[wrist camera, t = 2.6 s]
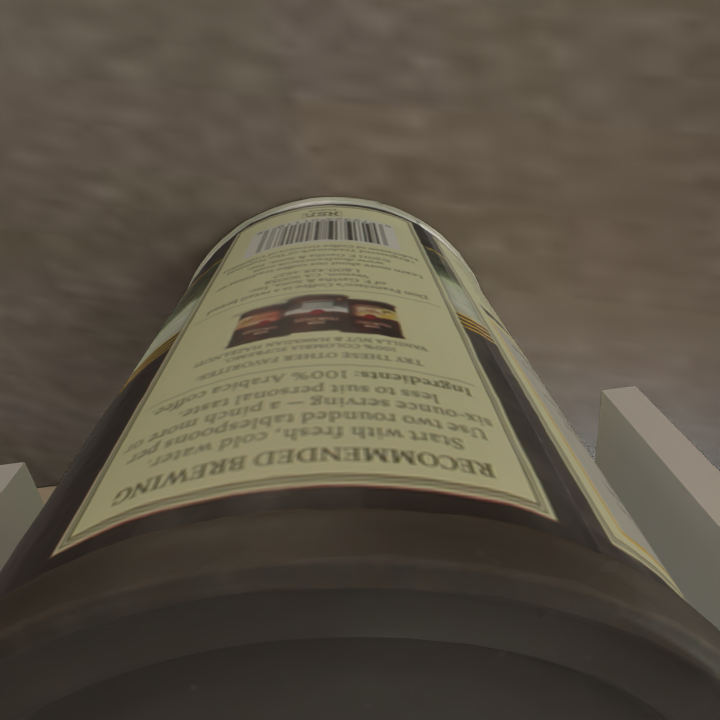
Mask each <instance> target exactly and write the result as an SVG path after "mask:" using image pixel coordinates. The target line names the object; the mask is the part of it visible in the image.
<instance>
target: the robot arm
mask: <svg viewBox="0 0 720 720" xmlns="http://www.w3.org/2000/svg"><path fill="white" fill-rule="evenodd" d="M595 463H596V465H597V466H598V468H599V469H600V471H601V472H602V474H603V475H604V477H605V478H606V480H607V481H608V483H609V484H610V486H611V487H612V489H613V490H614V492H615V493H616V495H617V496H618V498H619V499H620V501H621V502H622V504H623V505H624V507H625V508H626V510H627V511H628V513H629V514H630V516H631V517H632V519H633V521H634V522H635V524H636V525H637V527H638V528H639V530H640V531H641V533H642V534H643V536H644V537H645V539H646V540H647V542H648V543H649V545H650V546H651V548H652V549H653V551H654V552H655V554H656V555H657V557H658V558H659V560H660V561H661V563H662V564H663V566H664V567H665V569H666V570H667V572H668V574H669V575H670V577H671V578H672V580H673V581H674V583H675V584H676V586H677V587H678V589H679V590H680V592H681V593H682V595H683V596H684V598H685V600H686V601H687V603H688V604H690V605H691V606H692V607H693V608H694V609H695V610H697V611H698V612H699V613H700V614H701V615H702V616H704V617H705V618H706V619H707V620H708V621H710V622H711V623H712V624H713V625H714V626H715V627H717V629H718V630H719V631H720V472H719V471H718V470H717V469H716V468H715V467H714V466H713V465H712V464H711V463H710V462H709V460H708V459H707V458H706V457H705V456H704V455H703V454H702V453H701V452H700V451H699V450H698V449H697V448H696V447H695V446H694V445H693V444H692V443H691V442H690V441H689V440H688V439H687V438H686V437H685V436H684V435H683V434H682V433H681V432H680V431H679V430H678V429H677V428H676V427H675V426H674V425H673V424H672V423H671V422H670V421H669V420H668V419H667V418H666V417H665V416H664V415H663V414H662V413H661V411H660V410H659V409H658V408H657V407H656V406H655V405H654V404H653V403H652V402H651V401H650V400H649V399H648V398H647V397H646V396H645V395H644V394H643V393H642V392H641V391H640V390H639V389H638V388H637V387H636V386H631V387H623V388H615V389H607V390H602V392H601V403H600V414H599V425H598V436H597V448H596V459H595ZM43 507H44V503H43V500H42V498H41V496H40V494H39V492H38V490H37V488H36V485H35V483H34V481H33V479H32V477H31V475H30V473H29V470H28V468H27V466H26V464H25V462H21V463H13V464H5V465H0V571H1V570H2V568H3V567H4V565H5V564H6V562H7V561H8V559H9V558H10V556H11V555H12V553H13V551H14V550H15V548H16V546H17V545H18V543H19V542H20V540H21V539H22V537H23V536H24V535H25V533H26V532H27V530H28V529H29V527H30V526H31V525H32V523H33V522H34V520H35V519H36V517H37V516H38V514H39V513H40V511H41V510H42V508H43Z"/></svg>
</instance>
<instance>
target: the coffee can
mask: <svg viewBox="0 0 720 720" xmlns="http://www.w3.org/2000/svg"><path fill="white" fill-rule="evenodd" d="M0 720H720V631H719V630H718V629H717V627H715V626H714V625H713V624H712V623H711V622H710V621H708V620H707V619H706V618H705V617H704V616H702V615H701V614H700V613H699V612H698V611H697V610H695V609H694V608H693V607H692V606H691V605H690V604H688V603H687V601H686V600H685V598H684V596H683V595H682V593H681V592H680V590H679V589H678V587H677V586H676V584H675V583H674V581H673V580H672V578H671V577H670V575H669V574H668V572H667V570H666V569H665V567H664V566H663V564H662V563H661V561H660V560H659V558H658V557H657V555H656V554H655V552H654V551H653V549H652V548H651V546H650V545H649V543H648V542H647V540H646V539H645V537H644V536H643V534H642V533H641V531H640V530H639V528H638V527H637V525H636V524H635V522H634V521H633V519H632V517H631V516H630V514H629V513H628V511H627V510H626V508H625V507H624V505H623V504H622V502H621V501H620V499H619V498H618V496H617V495H616V493H615V492H614V490H613V489H612V487H611V486H610V484H609V483H608V481H607V480H606V478H605V477H604V475H603V474H602V472H601V471H600V469H599V468H598V466H597V465H596V463H595V462H594V460H593V459H592V457H591V456H590V454H589V453H588V451H587V450H586V448H585V447H584V445H583V444H582V442H581V440H580V439H579V437H578V436H577V434H576V433H575V431H574V430H573V428H572V427H571V425H570V424H569V422H568V421H567V419H566V418H565V416H564V415H563V413H562V412H561V410H560V409H559V407H558V406H557V404H556V403H555V401H554V399H553V398H552V396H551V395H550V393H549V392H548V390H547V389H546V387H545V386H544V384H543V383H542V381H541V380H540V378H539V377H538V375H537V374H536V372H535V371H534V369H533V368H532V366H531V364H530V363H529V361H528V360H527V358H526V357H525V355H524V354H523V352H522V351H521V350H520V348H519V347H518V346H517V344H516V343H515V341H514V340H513V338H512V337H511V335H510V334H509V332H508V331H507V329H506V328H505V326H504V325H503V323H502V322H501V320H500V319H499V317H498V316H497V314H496V313H495V311H494V310H493V308H492V307H491V305H490V304H489V302H488V301H487V299H486V298H485V296H484V295H483V293H482V292H481V289H480V286H479V284H478V281H477V279H476V277H475V275H474V273H473V272H472V270H471V269H470V268H469V266H468V265H467V264H466V262H465V261H464V260H463V258H462V257H461V255H460V253H459V252H458V251H457V250H456V249H455V248H454V247H453V246H452V245H451V244H450V243H449V242H448V241H447V240H446V239H445V238H444V237H443V236H442V235H441V234H440V233H438V232H437V231H436V230H434V229H433V228H432V227H430V226H429V225H427V224H426V223H424V222H423V221H421V220H420V219H418V218H416V217H414V216H412V215H410V214H408V213H406V212H404V211H402V210H400V209H397V208H395V207H392V206H389V205H385V204H382V203H380V202H378V201H372V200H365V199H359V198H349V197H320V198H310V199H305V200H300V201H295V202H290V203H287V204H284V205H281V206H277V207H274V208H272V209H270V210H267V211H265V212H263V213H261V214H258V215H256V216H255V217H253V218H250V219H248V220H246V221H244V222H243V223H242V224H240V225H239V226H237V227H236V228H235V229H234V230H233V231H231V232H230V233H229V234H228V235H227V236H225V237H224V238H223V239H222V240H221V241H220V242H219V243H218V244H217V245H216V246H215V247H214V248H213V249H212V250H211V251H210V253H209V254H208V255H207V256H206V258H205V259H204V260H203V262H202V263H201V265H200V266H199V267H198V269H197V271H196V272H195V274H194V276H193V278H192V280H191V282H190V284H189V286H188V289H187V290H186V292H185V293H184V295H183V296H182V298H181V299H180V301H179V302H178V304H177V306H176V307H175V309H174V310H173V312H172V313H171V315H170V316H169V318H168V319H167V321H166V322H165V324H164V325H163V327H162V329H161V330H160V332H159V333H158V335H157V336H156V338H155V339H154V341H153V342H152V344H151V345H150V347H149V348H148V350H147V351H146V353H145V355H144V356H143V358H142V359H141V361H140V362H139V364H138V365H137V367H136V368H135V370H134V371H133V373H132V374H131V376H130V377H129V379H128V381H127V382H126V384H125V385H124V387H123V388H122V390H121V391H120V393H119V394H118V396H117V397H116V399H115V400H114V401H113V403H112V404H111V406H110V407H109V408H108V410H107V411H106V413H105V414H104V415H103V417H102V419H101V420H100V422H99V423H98V424H97V426H96V427H95V429H94V430H93V432H92V433H91V435H90V436H89V437H88V438H87V440H86V442H85V444H84V445H83V447H82V449H81V451H80V452H79V454H78V455H77V457H76V458H75V460H74V461H73V463H72V464H71V466H70V467H69V469H68V470H67V472H66V473H65V475H64V476H63V478H62V479H61V481H60V482H59V484H58V485H57V487H56V488H55V490H54V491H53V493H52V494H51V496H50V497H49V499H48V501H47V502H46V504H45V505H44V507H43V508H42V510H41V511H40V513H39V514H38V516H37V517H36V519H35V520H34V522H33V523H32V525H31V526H30V527H29V529H28V530H27V532H26V533H25V535H24V536H23V537H22V539H21V540H20V542H19V543H18V545H17V546H16V548H15V550H14V551H13V553H12V555H11V556H10V558H9V559H8V561H7V562H6V564H5V565H4V567H3V568H2V570H1V571H0Z"/></svg>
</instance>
